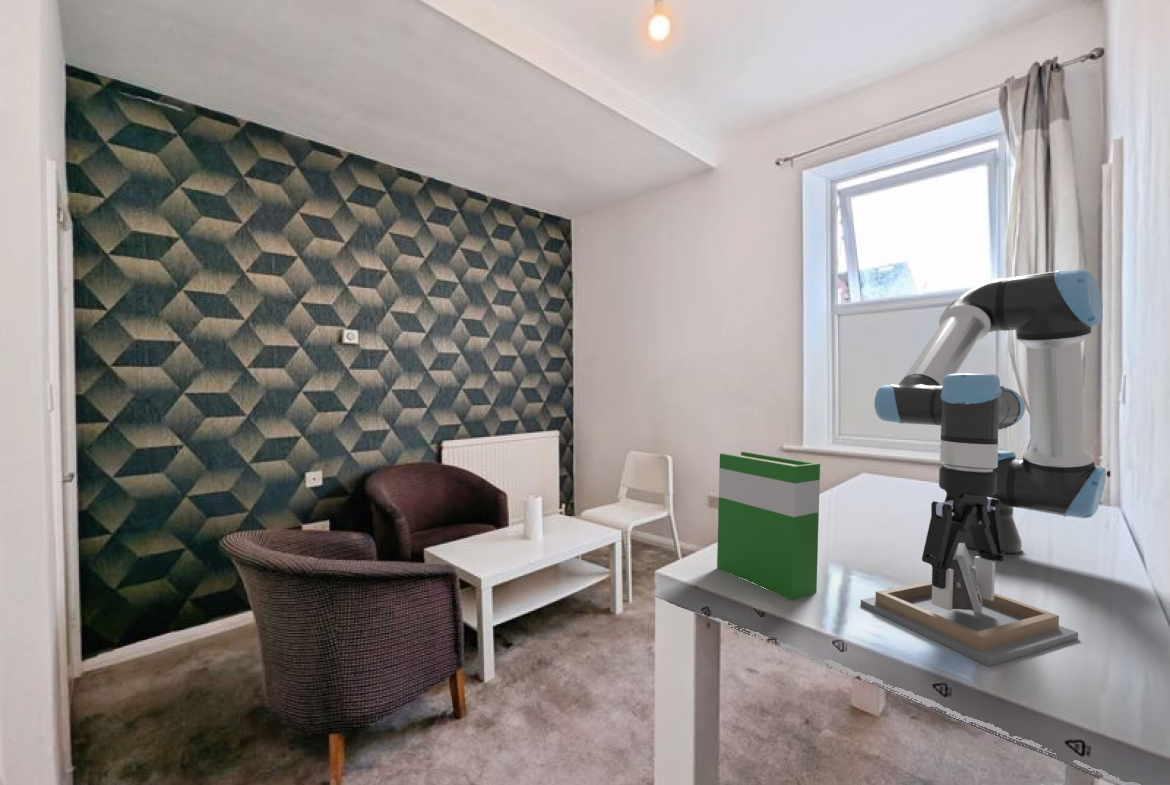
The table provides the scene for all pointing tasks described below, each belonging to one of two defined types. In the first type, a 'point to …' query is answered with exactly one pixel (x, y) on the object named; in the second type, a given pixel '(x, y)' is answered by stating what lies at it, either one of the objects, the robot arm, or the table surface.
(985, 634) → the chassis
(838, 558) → the table surface
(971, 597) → the electrical switch
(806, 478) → the green open box
